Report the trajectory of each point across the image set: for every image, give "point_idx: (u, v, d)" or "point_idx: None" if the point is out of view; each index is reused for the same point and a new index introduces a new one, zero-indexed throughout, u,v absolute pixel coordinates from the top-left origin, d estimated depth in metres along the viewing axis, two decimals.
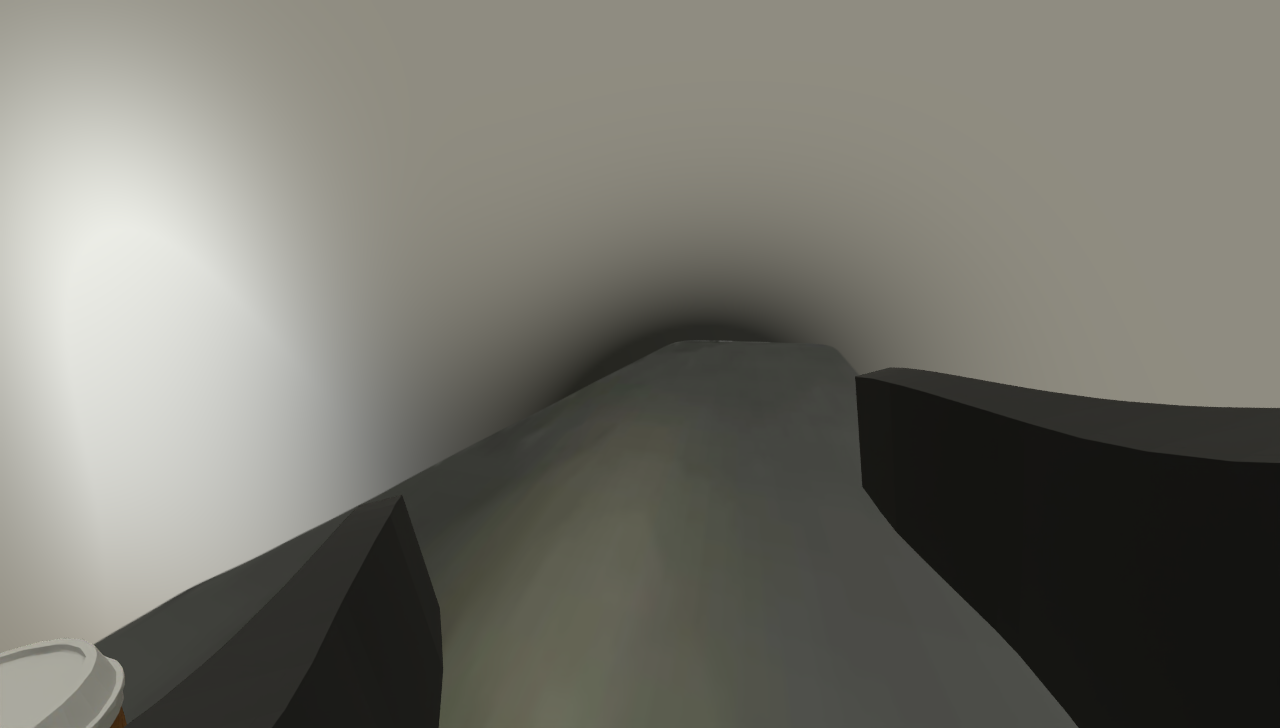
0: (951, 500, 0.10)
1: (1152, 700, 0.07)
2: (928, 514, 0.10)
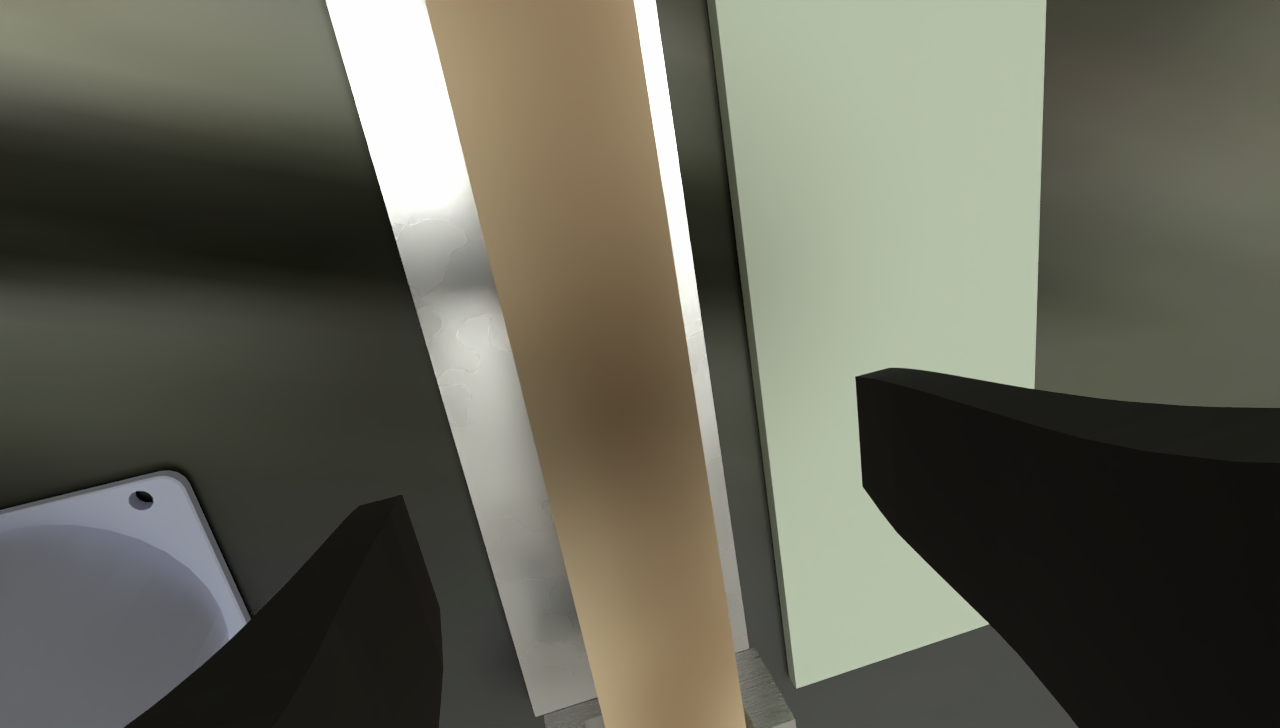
0: (951, 500, 0.10)
1: (1152, 700, 0.07)
2: (928, 514, 0.10)
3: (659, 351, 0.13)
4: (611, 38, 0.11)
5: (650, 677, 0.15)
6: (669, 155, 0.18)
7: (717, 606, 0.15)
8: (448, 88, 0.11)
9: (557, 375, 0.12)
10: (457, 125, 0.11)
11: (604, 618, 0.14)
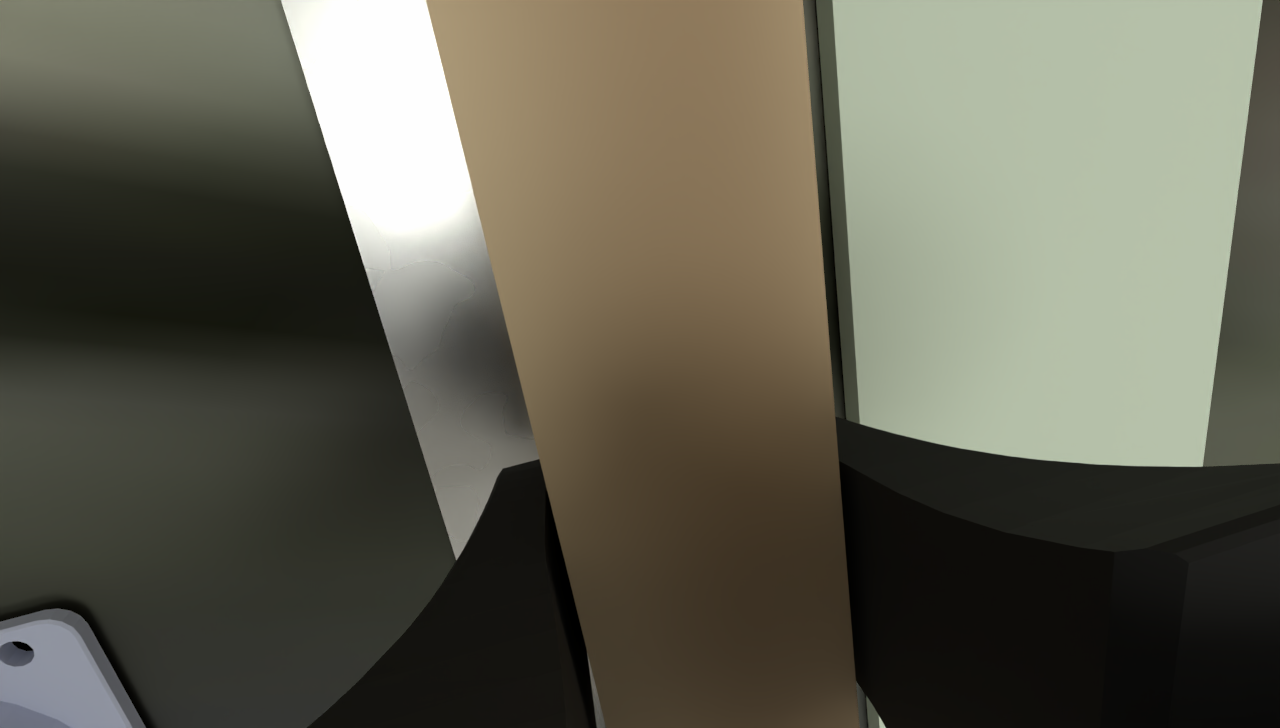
0: None
1: None
2: None
3: (795, 505, 0.08)
4: None
5: None
6: None
7: None
8: (444, 59, 0.06)
9: (629, 552, 0.07)
10: (461, 130, 0.06)
11: None
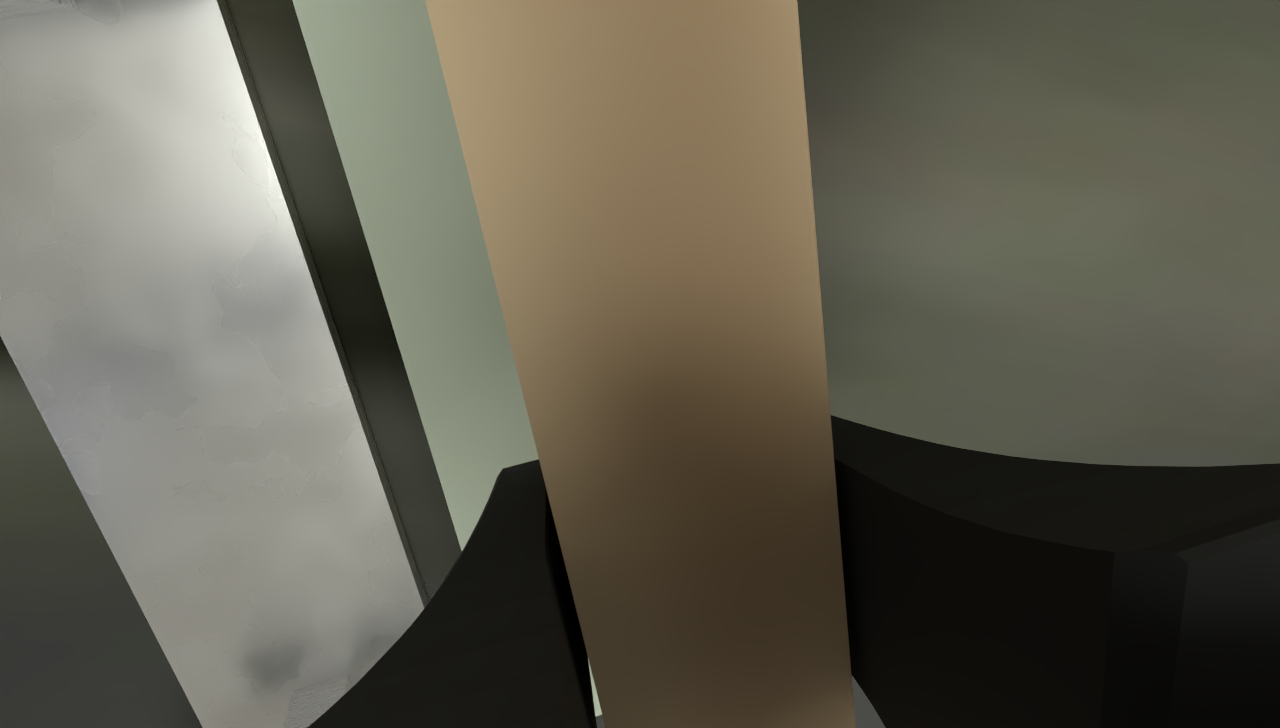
0: None
1: None
2: None
3: (791, 499, 0.08)
4: None
5: None
6: (284, 225, 0.18)
7: None
8: (442, 57, 0.06)
9: (626, 546, 0.07)
10: (459, 127, 0.06)
11: None
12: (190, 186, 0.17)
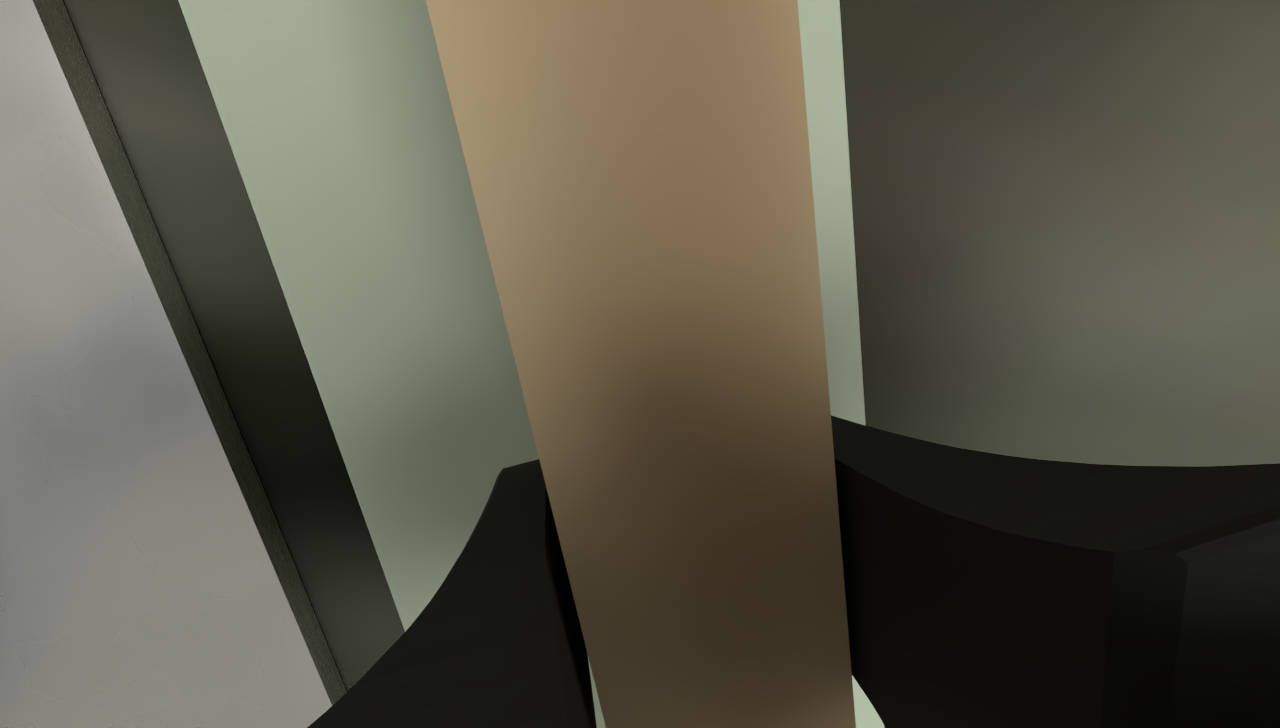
0: None
1: None
2: None
3: (792, 499, 0.08)
4: None
5: None
6: (146, 309, 0.10)
7: None
8: (443, 57, 0.06)
9: (627, 546, 0.07)
10: (460, 127, 0.06)
11: None
12: None
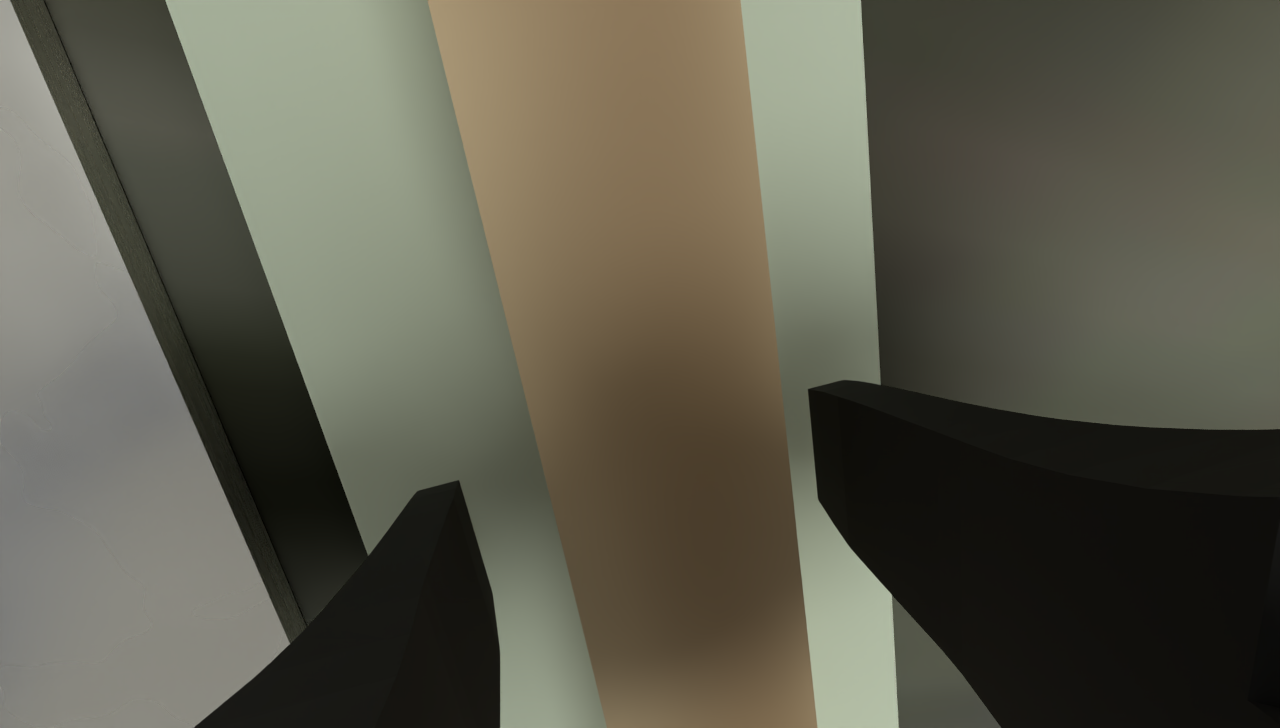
0: (896, 516, 0.10)
1: (1081, 726, 0.07)
2: (876, 529, 0.10)
3: (747, 448, 0.09)
4: None
5: None
6: (130, 319, 0.09)
7: None
8: (446, 67, 0.07)
9: (603, 485, 0.09)
10: (460, 125, 0.07)
11: None
12: None
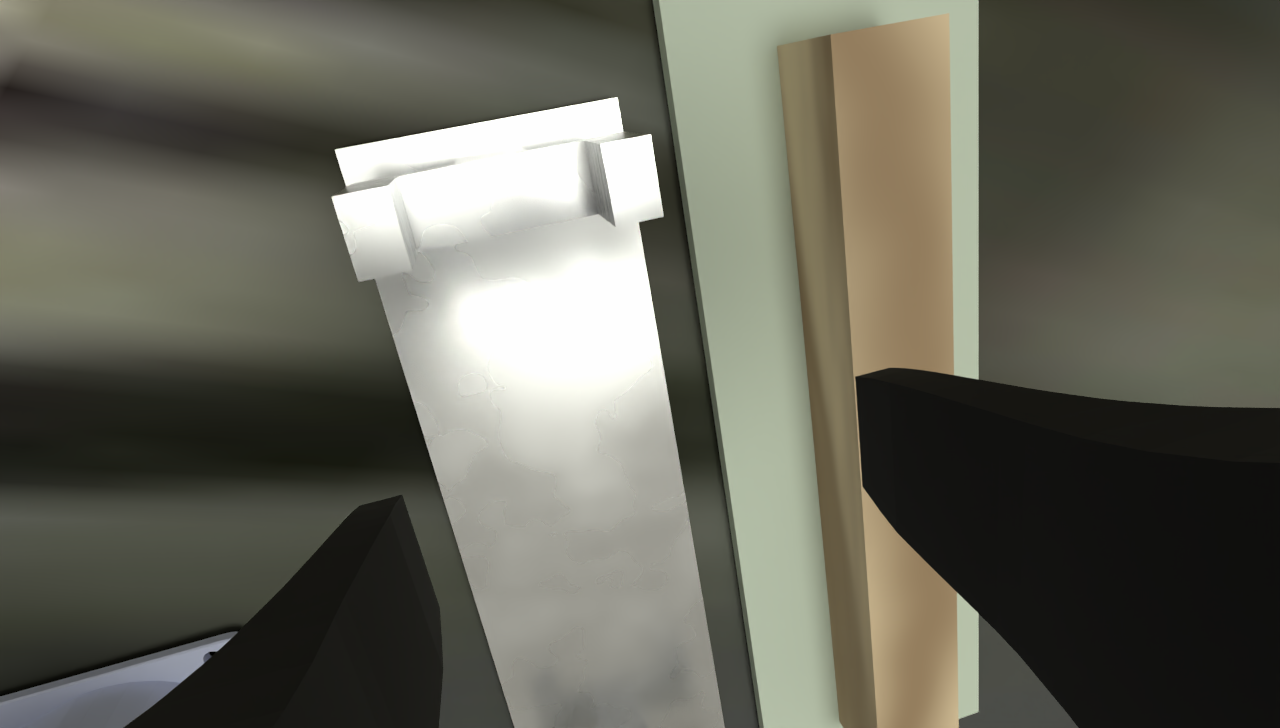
0: (951, 500, 0.10)
1: (1152, 700, 0.07)
2: (928, 514, 0.10)
3: None
4: (937, 249, 0.19)
5: (904, 632, 0.23)
6: (656, 368, 0.21)
7: None
8: (848, 281, 0.18)
9: None
10: (849, 301, 0.19)
11: (883, 592, 0.22)
12: (591, 341, 0.20)
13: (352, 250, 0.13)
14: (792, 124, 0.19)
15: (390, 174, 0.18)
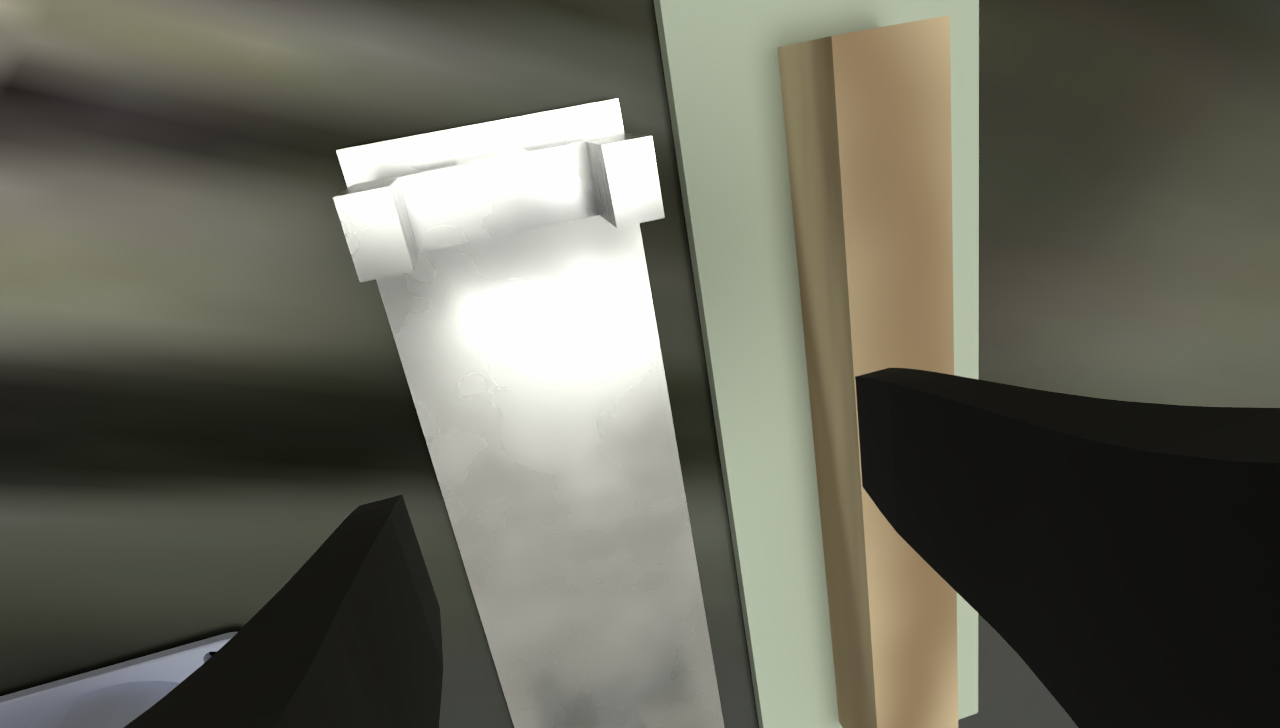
0: (951, 500, 0.10)
1: (1152, 700, 0.07)
2: (928, 514, 0.10)
3: None
4: (937, 250, 0.19)
5: (904, 632, 0.23)
6: (657, 369, 0.21)
7: (950, 586, 0.23)
8: (849, 282, 0.18)
9: None
10: (850, 302, 0.19)
11: (883, 593, 0.22)
12: (592, 342, 0.20)
13: (354, 251, 0.13)
14: (792, 126, 0.19)
15: (391, 175, 0.18)
